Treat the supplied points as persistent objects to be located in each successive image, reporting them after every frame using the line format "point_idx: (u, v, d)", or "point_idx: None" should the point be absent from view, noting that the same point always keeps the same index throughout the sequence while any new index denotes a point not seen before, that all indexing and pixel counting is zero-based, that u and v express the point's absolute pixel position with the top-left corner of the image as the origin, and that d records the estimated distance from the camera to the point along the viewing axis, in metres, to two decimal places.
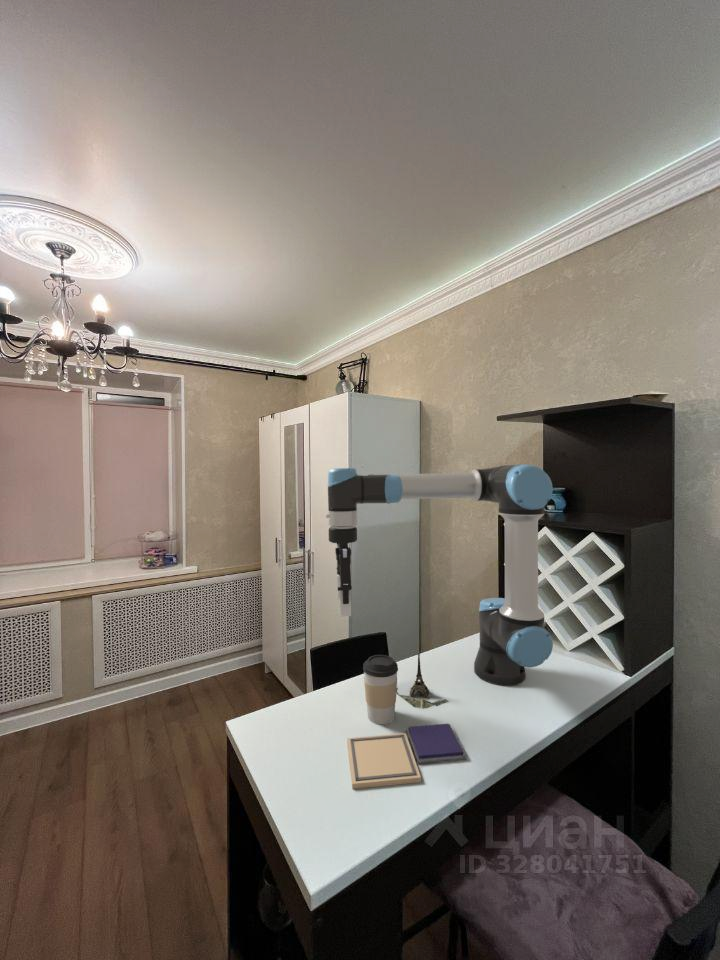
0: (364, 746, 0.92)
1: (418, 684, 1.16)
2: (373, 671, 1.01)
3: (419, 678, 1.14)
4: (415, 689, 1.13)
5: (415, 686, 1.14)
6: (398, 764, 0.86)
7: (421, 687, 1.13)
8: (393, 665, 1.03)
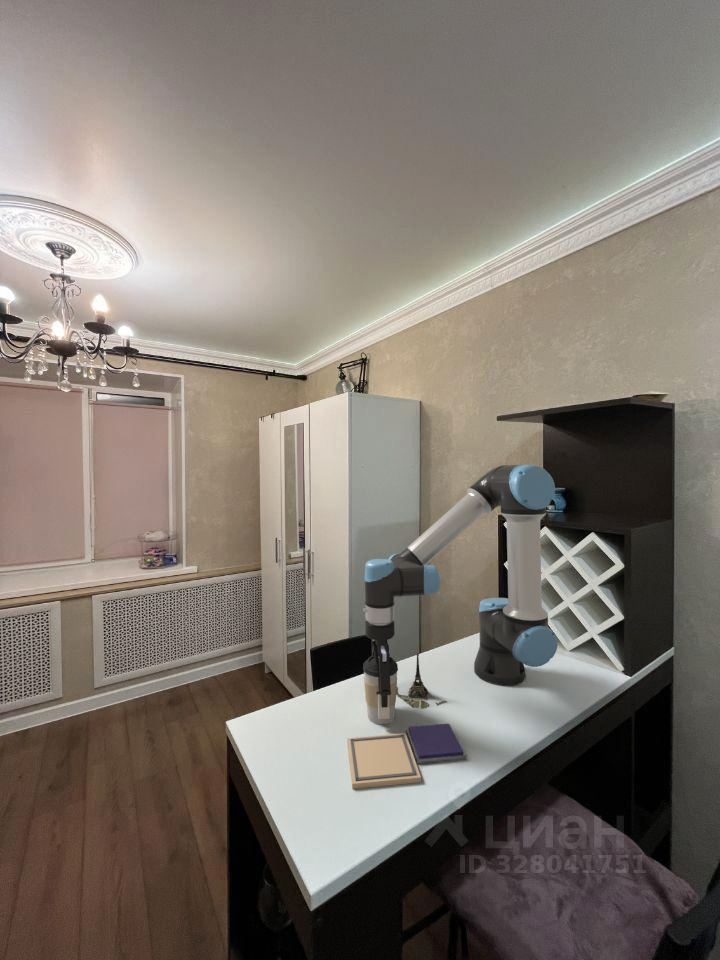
0: (364, 746, 0.92)
1: (417, 684, 1.15)
2: (373, 671, 1.01)
3: (418, 678, 1.14)
4: (414, 689, 1.13)
5: (414, 686, 1.13)
6: (398, 764, 0.86)
7: (420, 687, 1.13)
8: (393, 665, 1.03)
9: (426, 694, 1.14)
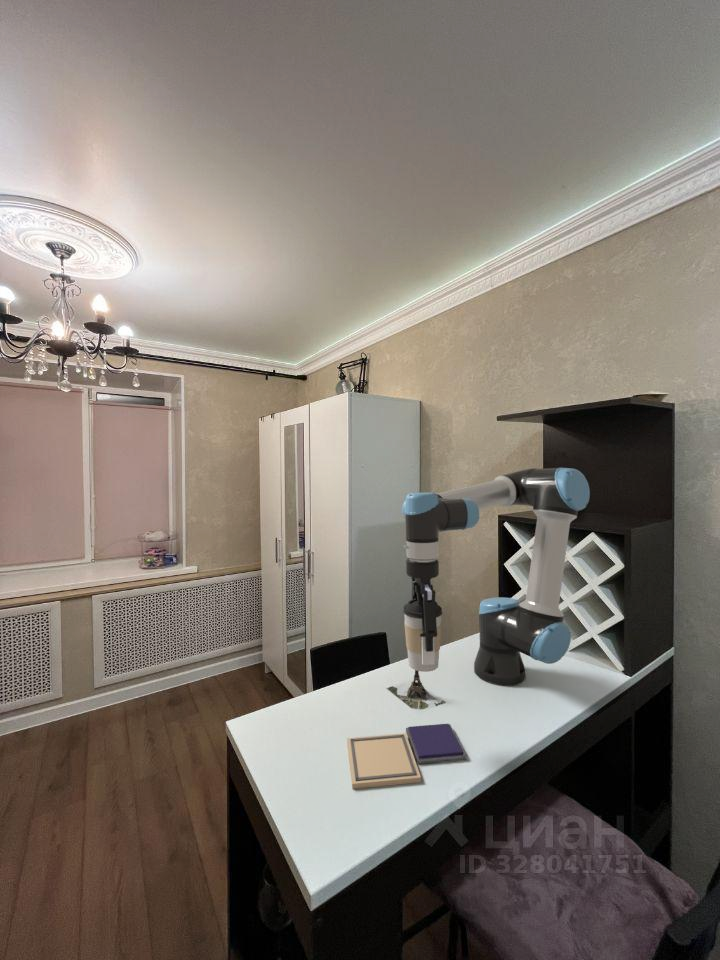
0: (364, 746, 0.92)
1: (416, 685, 1.15)
2: (415, 612, 0.91)
3: (417, 679, 1.14)
4: (412, 690, 1.13)
5: (412, 687, 1.13)
6: (398, 764, 0.86)
7: (418, 688, 1.13)
8: (437, 607, 0.93)
9: (425, 694, 1.14)
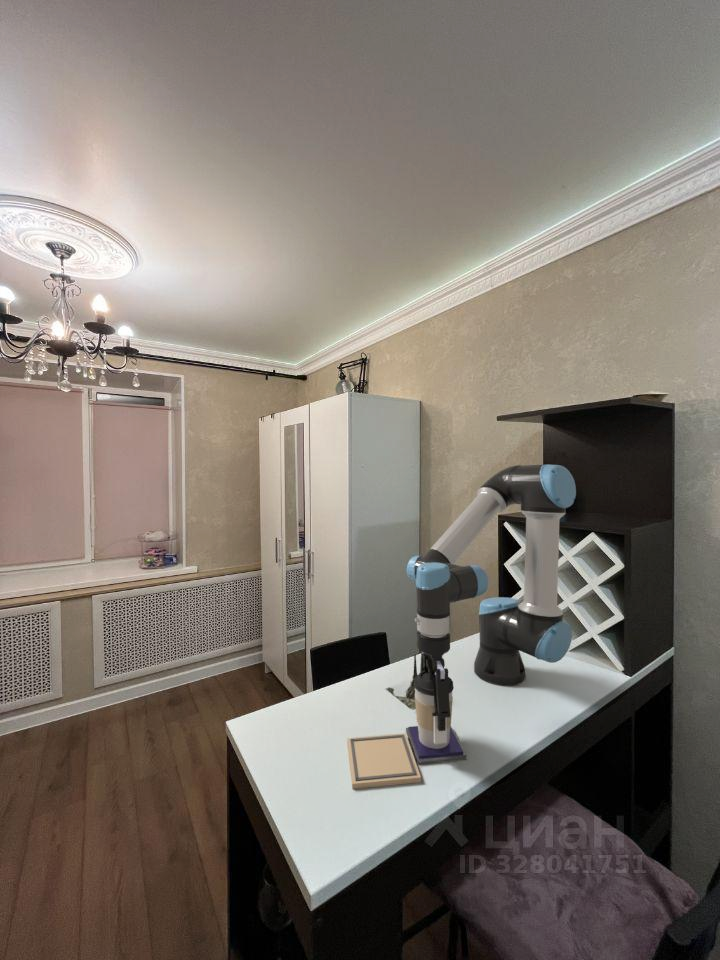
0: (364, 746, 0.92)
1: None
2: (427, 689, 0.89)
3: None
4: (411, 690, 1.13)
5: (411, 687, 1.13)
6: (398, 764, 0.86)
7: None
8: (448, 682, 0.91)
9: None
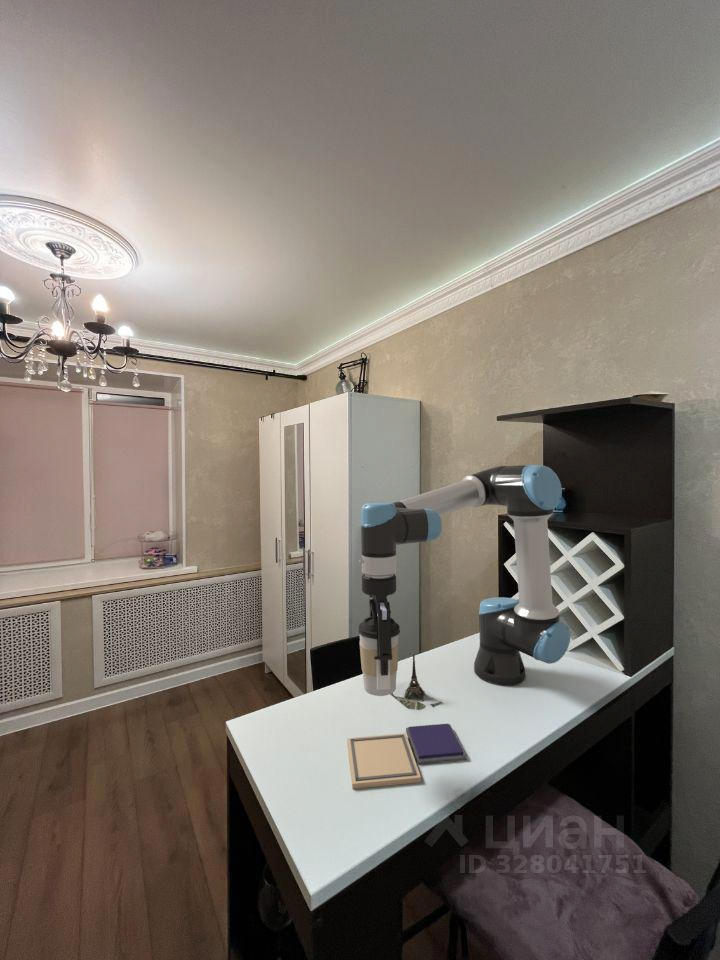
0: (364, 746, 0.92)
1: (413, 686, 1.15)
2: (370, 632, 0.84)
3: (414, 680, 1.13)
4: (410, 691, 1.13)
5: (410, 688, 1.13)
6: (398, 764, 0.86)
7: (416, 689, 1.12)
8: (394, 626, 0.86)
9: (422, 695, 1.14)
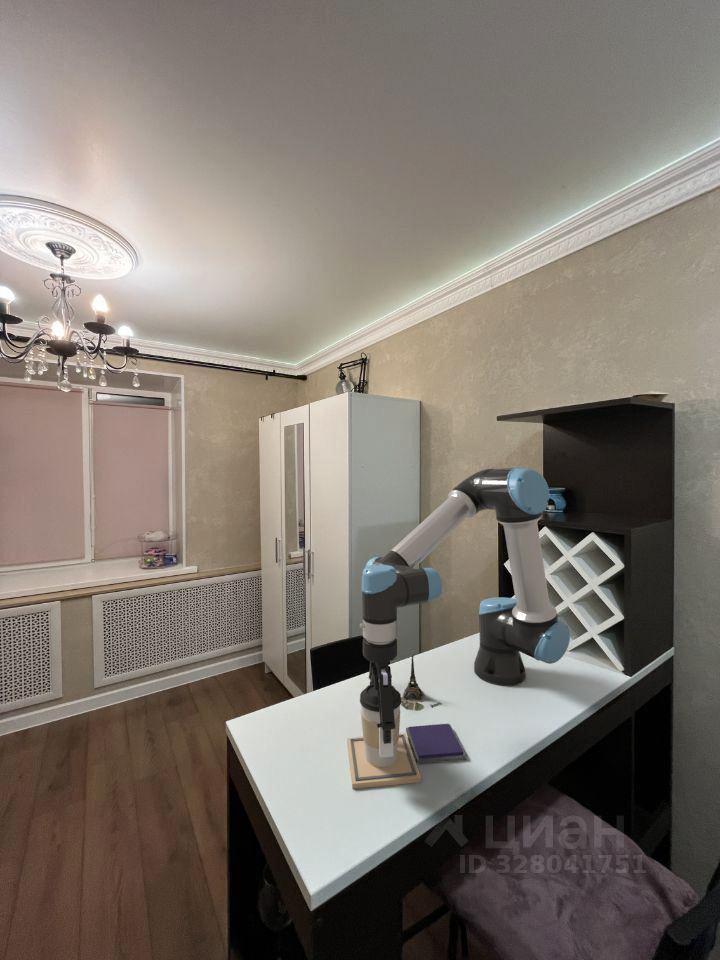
0: (364, 746, 0.92)
1: (412, 686, 1.15)
2: (372, 704, 0.85)
3: (412, 680, 1.13)
4: (408, 691, 1.12)
5: (408, 688, 1.13)
6: (398, 764, 0.86)
7: (414, 689, 1.12)
8: (395, 696, 0.86)
9: (421, 696, 1.13)
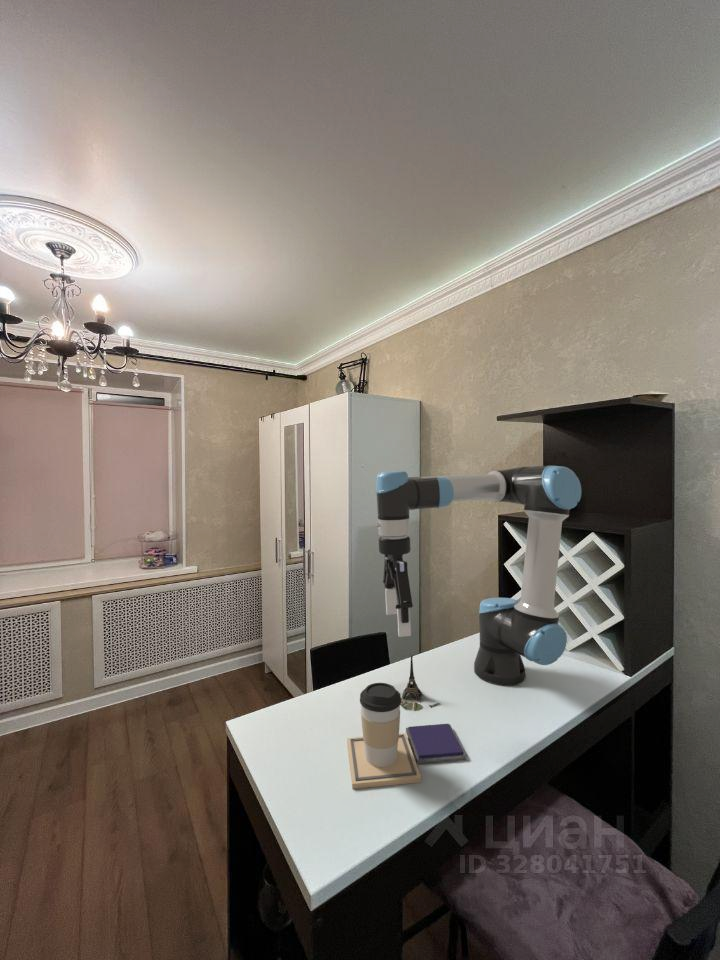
0: (364, 746, 0.92)
1: (411, 686, 1.14)
2: (371, 704, 0.85)
3: (412, 680, 1.13)
4: (407, 691, 1.12)
5: (407, 688, 1.12)
6: (398, 764, 0.86)
7: (413, 689, 1.12)
8: (395, 696, 0.86)
9: (420, 696, 1.13)
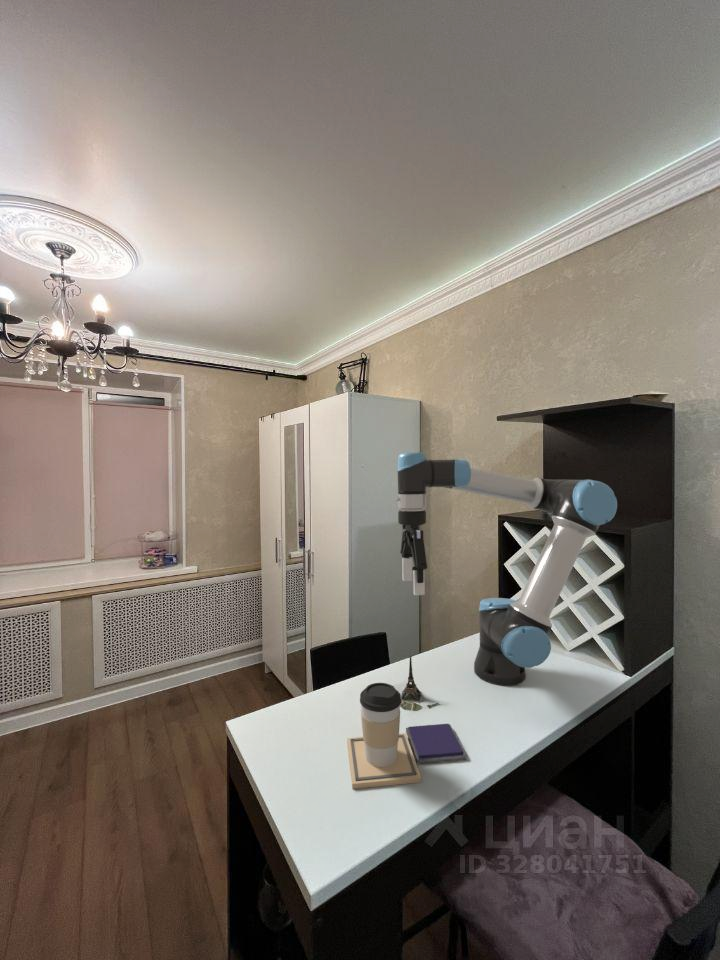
0: (364, 746, 0.92)
1: (410, 687, 1.14)
2: (372, 704, 0.85)
3: (411, 681, 1.13)
4: (406, 692, 1.12)
5: (406, 689, 1.12)
6: (398, 764, 0.86)
7: (412, 690, 1.12)
8: (395, 696, 0.86)
9: (419, 696, 1.13)
